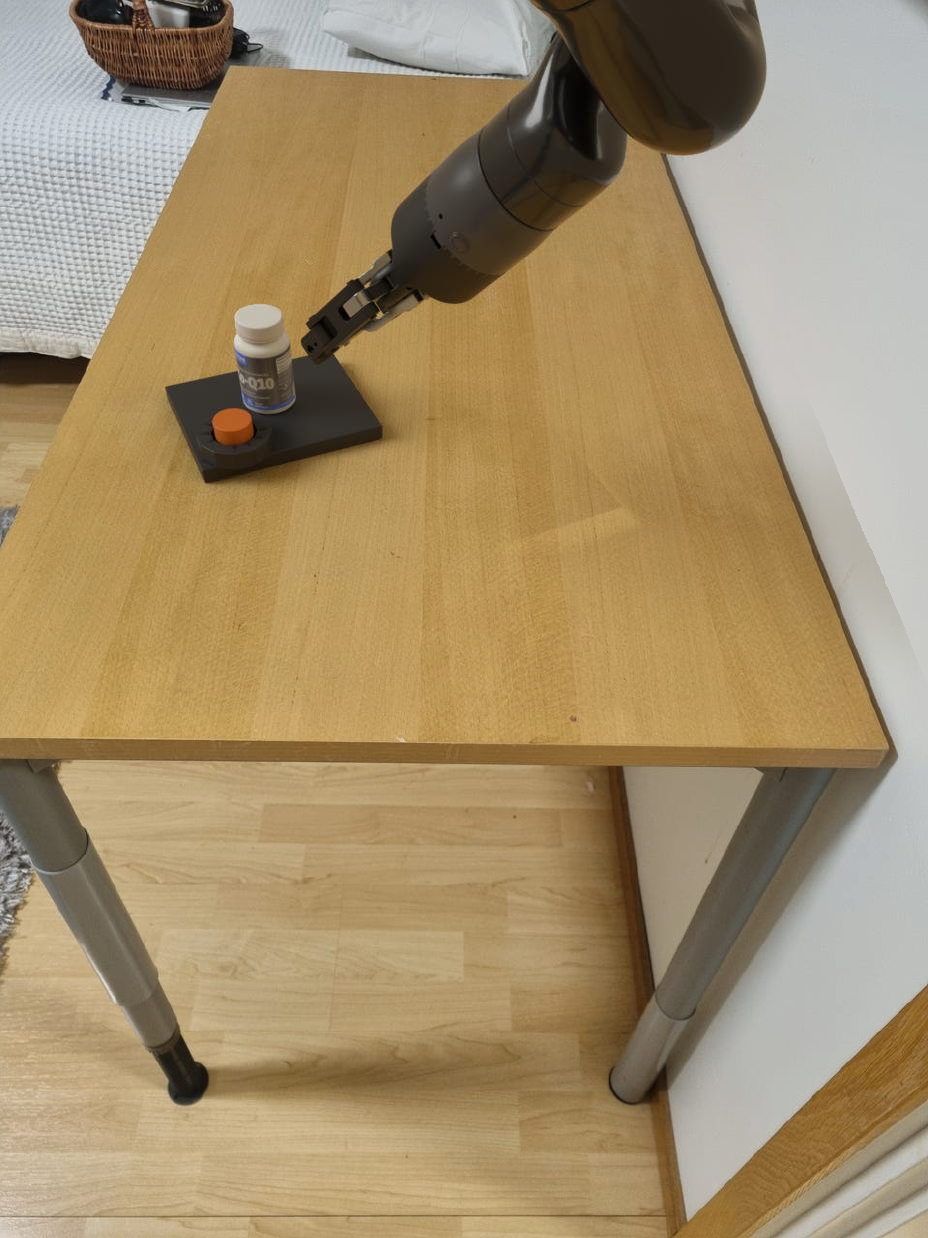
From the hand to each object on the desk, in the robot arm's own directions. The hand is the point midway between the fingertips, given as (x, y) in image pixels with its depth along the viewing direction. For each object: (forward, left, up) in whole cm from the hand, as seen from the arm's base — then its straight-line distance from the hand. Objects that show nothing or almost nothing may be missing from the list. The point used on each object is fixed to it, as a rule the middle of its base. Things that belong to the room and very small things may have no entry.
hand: (348, 329), depth 71 cm
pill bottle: (-5, +10, -12) cm, 16 cm away
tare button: (-9, +4, -10) cm, 14 cm away
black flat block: (-5, +9, -13) cm, 16 cm away
